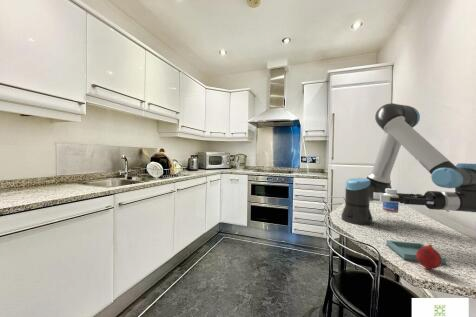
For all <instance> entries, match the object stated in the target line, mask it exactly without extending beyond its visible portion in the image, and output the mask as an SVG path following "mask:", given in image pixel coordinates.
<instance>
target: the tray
mask: <svg viewBox="0 0 476 317" xmlns="http://www.w3.org/2000/svg"><path fill="white" fill-rule="evenodd" d="M386 246H387V247H388V248H389V249H390V250H391V251H393V252H394V253H395V254H396V255H398V257H400V258H401V259H402V260H404V261H411V262H417V263H418V262H419V261H418V259H417V256H416V253H417V251H418V250H419V249H420V248H422V247H425V246H426V245H425V244H423V243H420V242H419V243H418V242H410V241H400V240H399V241H398V240H389V239H386ZM439 255H440V256H441V258H442V262H441V265H444V266H445V265H446V263H447V262H446V261H447V258H446V257H445V256H443V255H441V254H439Z"/></svg>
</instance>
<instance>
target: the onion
mask: <svg viewBox="0 0 476 317" xmlns="http://www.w3.org/2000/svg"><path fill="white" fill-rule="evenodd" d="M440 255H441V254H440V253H439V252H438V251H437V250H436V249H434V248H433V245H432V244H431V243H428V244H427V245H425V247H422V248H420V249H419V250H418V251H417V253H416V256H417V259H418V261H419V264H420V265H421V266H423V267H424V268H425V269H427V270H428V271H431V270H433V269H436V268H439V267H440V266H441V265H442V264H441V262H442V258H441V256H442V255H441V256H440ZM418 261H417V262H418Z"/></svg>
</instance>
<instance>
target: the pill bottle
mask: <svg viewBox="0 0 476 317" xmlns="http://www.w3.org/2000/svg"><path fill="white" fill-rule="evenodd" d="M385 192H386V193H385V194H383V195H391V196H398V195H397V194H396V193H398V189H396V188H392V189H389V188H386V189H385ZM382 211H383V212H386V213H391V214H398V213H399V202H398V203H394V202H382Z"/></svg>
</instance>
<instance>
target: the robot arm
mask: <svg viewBox="0 0 476 317" xmlns="http://www.w3.org/2000/svg"><path fill="white" fill-rule="evenodd" d="M374 117H375V118H374V119H375V122H376V124H377V126H378V127H379V128H381V130H383V132H384V134H383V138H382V141H381V143H380V147H379V149H378V153H377V155H376V159H375V161H374V164H373V166H372V171H371V173H369V174H367V176H366V177H357V178H356V177H353V178H349V179H346V183H345V201H344V202H345V203H344V204H345V205H344V207H343V210H342V212H341V215H340V216H341V220H343V221H345V222H347V223H351V224H354V225H355V224H356V225H365V226H366V225H367V226H370V225H372V224H373V223H374V222H373V220H374V218H373V216H372V213H371V209H370V202H375V201H378V202H382V203H383V202H394V203H398V202H399V203H400V204H403V205H409V206H410V205H412V206H413V205H414V206H425V207H426V208H427V209H429V210H437V211H446V212H447V213H449V212H450V211H455V212H467V213H476V163H463V162H461V163H460V162H459V163H457V164H456V165H455V164H454V163H452V161H451V160H449V159H448V158H447V157H446V156H445V155H444V154H443V153H441V152H440V151H439V150H438V149H437V148H435V146H433V145H432V144H431V143H430V142H429V141H428V140H427V139H426V138H424V136H422V135H421V134H420V133H419V132H418V131H417V130H416V129H415V128H414V127H416V126H417V125H418V124H419V122H420V121H421V120H420V119H421V118H420V117H421V116H420V112H419V111H418V110H417V109H416V108H415V107H413V106H411V105H406V104H398V103H386V104H383V105H382V106H380V107H379V108H378V109H377V110H376V112H375V116H374ZM401 146H402V147H403V148H404V149H405V150H406V151H407V152H408V153H409V154H410V155H412V156H413V158H414V159H415V160H416V161H417V162H418V163H419V164H420V165H421V166H422V167H423V168H425V170H426V171H428V173H429V174H430V175H431V176H430V179H431V182H432V183H433V184H434V185H436V186H437V187H439V188H445V189H454V192H453V191H443V190H442V191H441V190H440V191H438V190H427V191H425V193H424V194H421V193H416V194H415V193H399V192H397V193H396V194H397V195H398V196H391V195H383V194H385V193H386V192H385V189H386V188H389V189H393V188H392V184H391V183H392V181H391V179H390V176H391V173H392V171H393V168H394V165H395V163H396V160H397V158H398V154H399V153H400V149H401Z"/></svg>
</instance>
